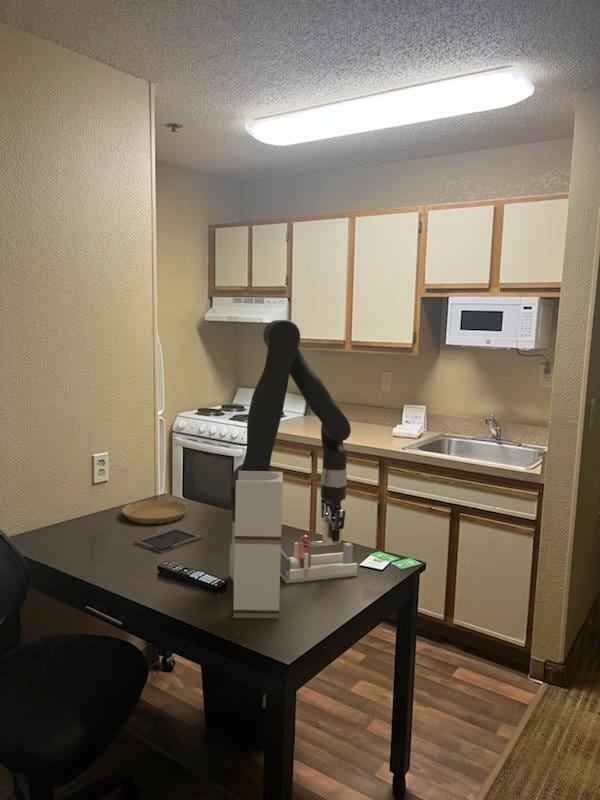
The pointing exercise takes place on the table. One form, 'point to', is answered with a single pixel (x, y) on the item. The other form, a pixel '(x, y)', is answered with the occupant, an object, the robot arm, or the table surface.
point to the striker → (316, 542)
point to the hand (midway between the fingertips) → (331, 537)
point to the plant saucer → (154, 511)
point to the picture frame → (168, 540)
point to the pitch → (319, 565)
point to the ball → (295, 564)
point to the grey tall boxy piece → (257, 544)
